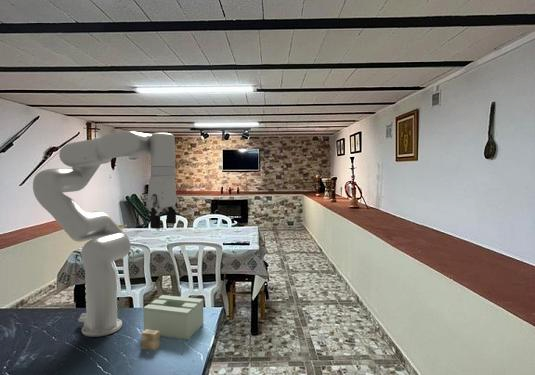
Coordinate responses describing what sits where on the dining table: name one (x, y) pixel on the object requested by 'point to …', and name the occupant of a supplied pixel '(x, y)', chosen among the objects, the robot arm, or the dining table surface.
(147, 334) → the block
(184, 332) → the box
